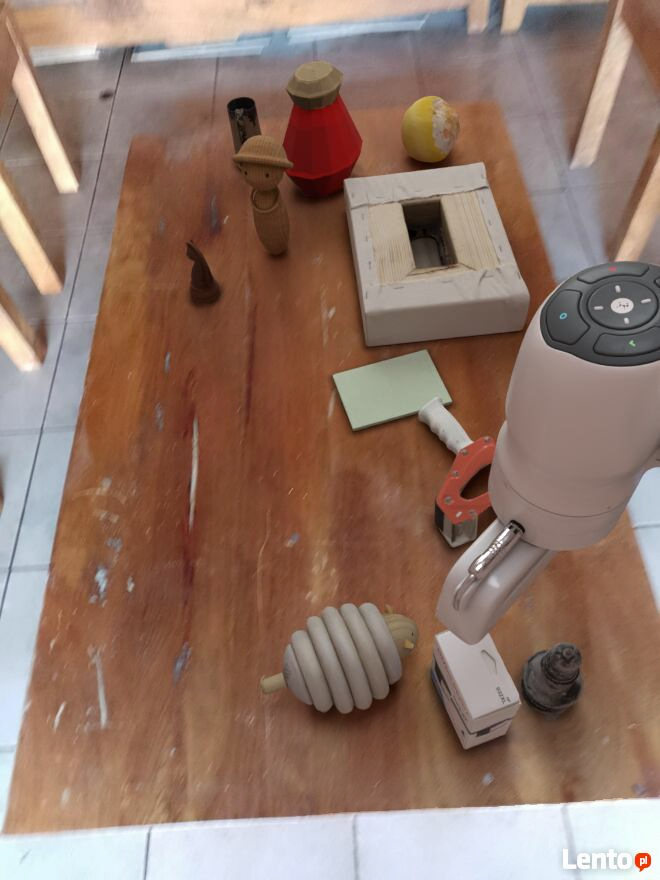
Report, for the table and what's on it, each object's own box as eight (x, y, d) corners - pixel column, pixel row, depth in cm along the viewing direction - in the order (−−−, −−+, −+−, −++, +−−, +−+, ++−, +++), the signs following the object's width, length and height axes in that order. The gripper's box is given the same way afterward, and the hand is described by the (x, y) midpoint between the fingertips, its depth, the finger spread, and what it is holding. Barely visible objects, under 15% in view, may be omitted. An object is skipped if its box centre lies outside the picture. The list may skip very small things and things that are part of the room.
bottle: (323, 147, 133) (313, 36, 117) (380, 172, 127) (378, 59, 111) (265, 191, 127) (246, 80, 111) (322, 219, 121) (311, 106, 105)
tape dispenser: (424, 411, 98) (384, 532, 87) (424, 384, 94) (382, 508, 82) (556, 435, 93) (533, 566, 82) (562, 408, 89) (539, 542, 78)
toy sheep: (438, 685, 76) (444, 650, 66) (293, 761, 72) (278, 735, 63) (391, 601, 81) (390, 558, 72) (254, 668, 78) (235, 631, 69)
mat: (426, 351, 102) (426, 349, 102) (452, 403, 97) (452, 401, 96) (332, 377, 101) (332, 374, 101) (353, 431, 95) (353, 428, 95)
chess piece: (209, 279, 115) (194, 228, 107) (228, 294, 112) (214, 244, 104) (186, 294, 113) (169, 243, 105) (204, 310, 111) (189, 259, 103)
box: (527, 332, 103) (479, 195, 122) (535, 293, 97) (483, 154, 115) (367, 354, 104) (343, 213, 122) (364, 316, 97) (340, 174, 116)
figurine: (244, 262, 116) (220, 151, 100) (259, 233, 120) (237, 122, 104) (297, 269, 115) (281, 157, 98) (310, 239, 118) (296, 127, 102)
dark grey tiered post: (517, 658, 77) (534, 616, 67) (573, 663, 76) (600, 621, 66) (519, 715, 73) (537, 680, 63) (578, 720, 72) (606, 686, 63)
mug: (237, 153, 134) (224, 91, 124) (266, 150, 134) (256, 88, 124) (235, 179, 130) (222, 117, 120) (265, 176, 129) (255, 113, 120)
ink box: (428, 672, 76) (432, 633, 67) (470, 655, 77) (480, 615, 67) (462, 752, 72) (472, 722, 62) (507, 734, 72) (524, 702, 63)
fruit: (405, 177, 126) (405, 124, 118) (397, 142, 132) (397, 89, 124) (463, 170, 126) (467, 117, 118) (452, 136, 132) (456, 83, 124)
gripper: (500, 622, 42) (477, 690, 53) (682, 414, 49) (627, 512, 61) (418, 555, 45) (412, 633, 56) (602, 367, 52) (564, 469, 63)
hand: (525, 568), depth 58 cm, fingers open, 8 cm apart
